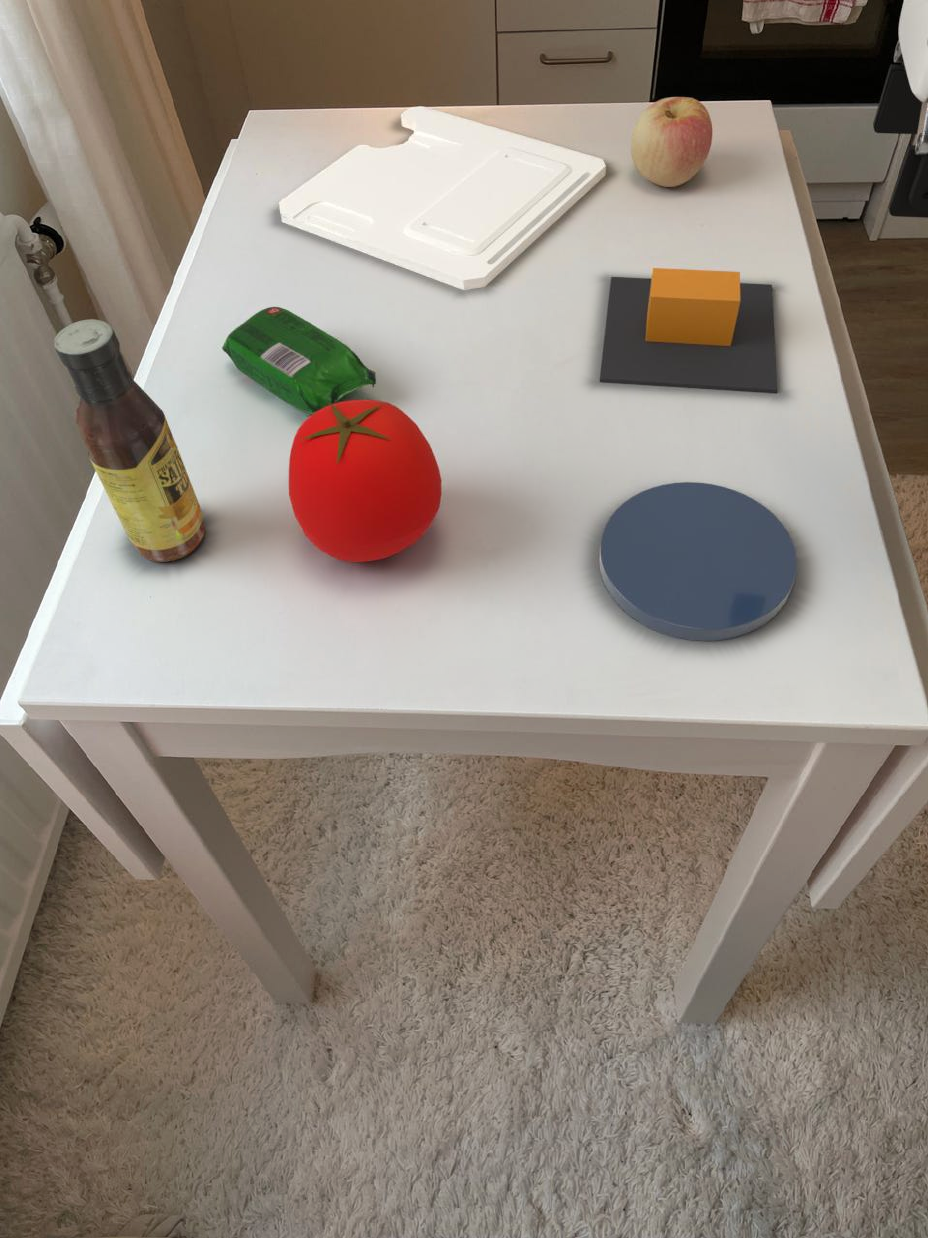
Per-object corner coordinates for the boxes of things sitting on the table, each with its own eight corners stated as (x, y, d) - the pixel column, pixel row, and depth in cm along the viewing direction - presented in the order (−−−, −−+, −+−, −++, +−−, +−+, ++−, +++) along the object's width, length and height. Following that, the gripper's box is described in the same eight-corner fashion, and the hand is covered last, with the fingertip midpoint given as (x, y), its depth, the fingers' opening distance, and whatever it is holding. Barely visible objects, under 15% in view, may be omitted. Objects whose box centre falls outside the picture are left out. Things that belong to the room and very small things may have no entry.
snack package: (327, 441, 86) (317, 396, 82) (220, 367, 92) (206, 322, 88) (384, 401, 89) (378, 356, 84) (276, 333, 95) (266, 287, 91)
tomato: (271, 542, 79) (235, 427, 69) (369, 463, 84) (349, 345, 74) (379, 617, 74) (356, 505, 64) (476, 528, 79) (470, 411, 68)
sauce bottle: (209, 559, 78) (128, 363, 62) (132, 571, 78) (31, 377, 62) (208, 502, 82) (132, 303, 66) (135, 513, 82) (40, 316, 66)
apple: (704, 158, 111) (715, 86, 104) (706, 200, 106) (718, 127, 99) (629, 157, 112) (635, 85, 106) (626, 198, 107) (633, 126, 100)
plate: (788, 501, 79) (792, 489, 77) (797, 650, 70) (802, 639, 69) (605, 487, 81) (607, 475, 79) (592, 630, 72) (593, 619, 71)
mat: (771, 287, 96) (771, 284, 95) (776, 393, 87) (777, 389, 86) (611, 279, 98) (611, 276, 98) (599, 381, 89) (599, 378, 88)
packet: (730, 316, 93) (739, 271, 89) (730, 346, 90) (740, 300, 86) (647, 312, 94) (652, 267, 90) (645, 341, 91) (650, 296, 87)
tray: (271, 218, 108) (269, 205, 107) (418, 111, 121) (416, 99, 120) (476, 294, 98) (475, 281, 96) (611, 169, 111) (612, 156, 109)
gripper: (1154, -113, 40) (992, 254, 54) (1067, -230, 50) (949, 104, 64) (966, -112, 41) (854, 248, 55) (917, -227, 51) (833, 102, 65)
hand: (906, 170), depth 59 cm, fingers open, 9 cm apart
